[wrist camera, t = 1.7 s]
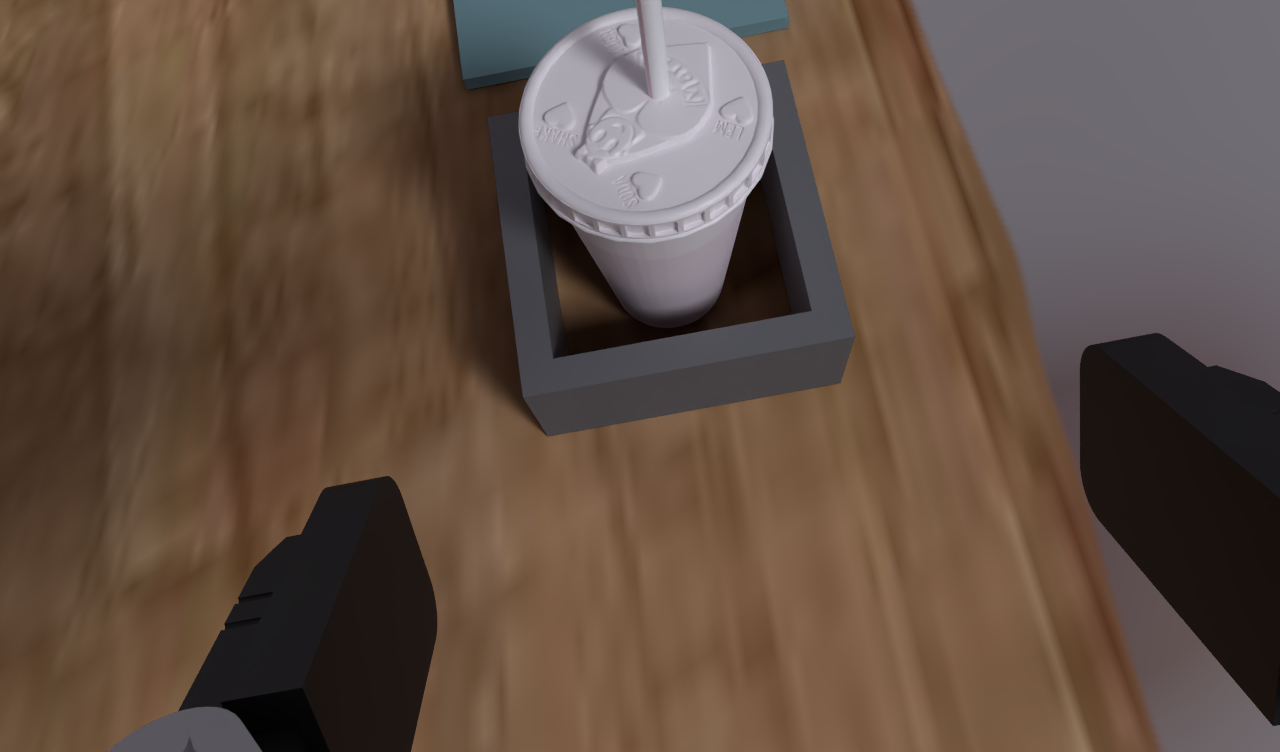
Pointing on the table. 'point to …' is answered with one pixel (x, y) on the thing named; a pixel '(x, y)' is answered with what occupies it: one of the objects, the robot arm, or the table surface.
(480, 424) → the table surface
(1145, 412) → the robot arm
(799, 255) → the frame
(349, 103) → the table surface
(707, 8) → the coaster
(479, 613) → the table surface
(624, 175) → the smoothie
